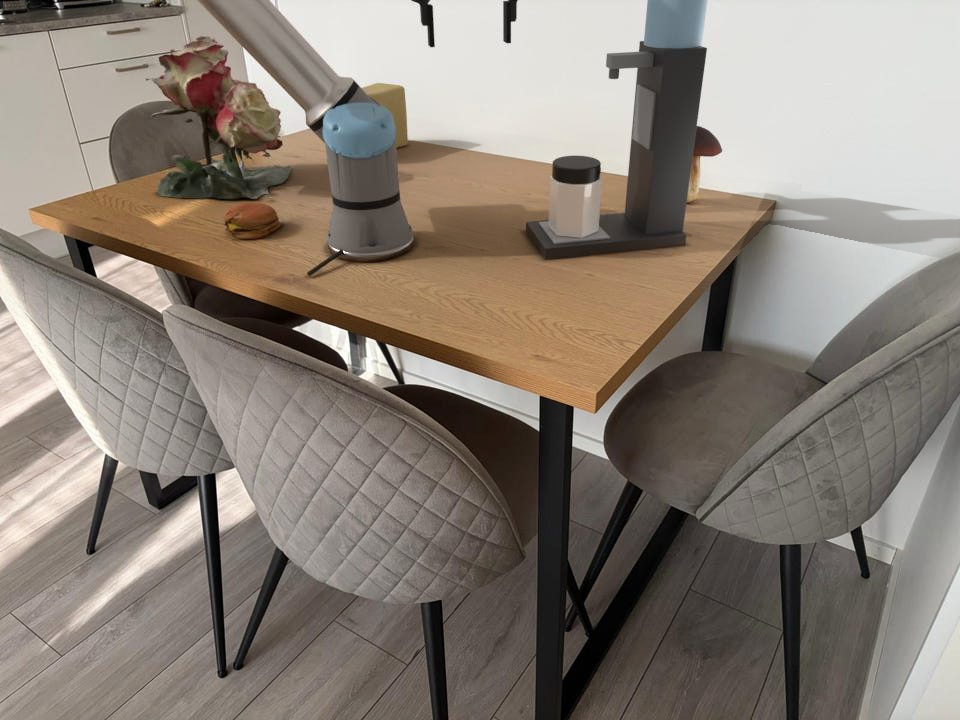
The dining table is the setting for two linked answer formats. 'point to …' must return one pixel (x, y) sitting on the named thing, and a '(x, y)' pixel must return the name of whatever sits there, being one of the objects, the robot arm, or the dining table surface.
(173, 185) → the rose bouquet
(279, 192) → the dining table surface
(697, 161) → the decorative mushroom
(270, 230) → the burger
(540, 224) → the water dispenser
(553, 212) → the jar
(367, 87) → the cheese
